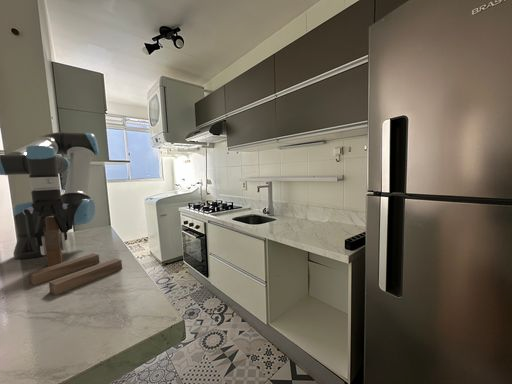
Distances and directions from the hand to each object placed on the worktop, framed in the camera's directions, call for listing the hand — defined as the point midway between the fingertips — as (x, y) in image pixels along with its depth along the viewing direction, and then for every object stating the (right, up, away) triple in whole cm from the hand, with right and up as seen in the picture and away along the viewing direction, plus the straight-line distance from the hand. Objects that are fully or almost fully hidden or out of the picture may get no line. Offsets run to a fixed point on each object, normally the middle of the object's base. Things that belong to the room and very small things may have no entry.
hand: (53, 251), depth 80 cm
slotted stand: (+16, -5, -9) cm, 19 cm away
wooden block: (0, -5, +1) cm, 5 cm away
